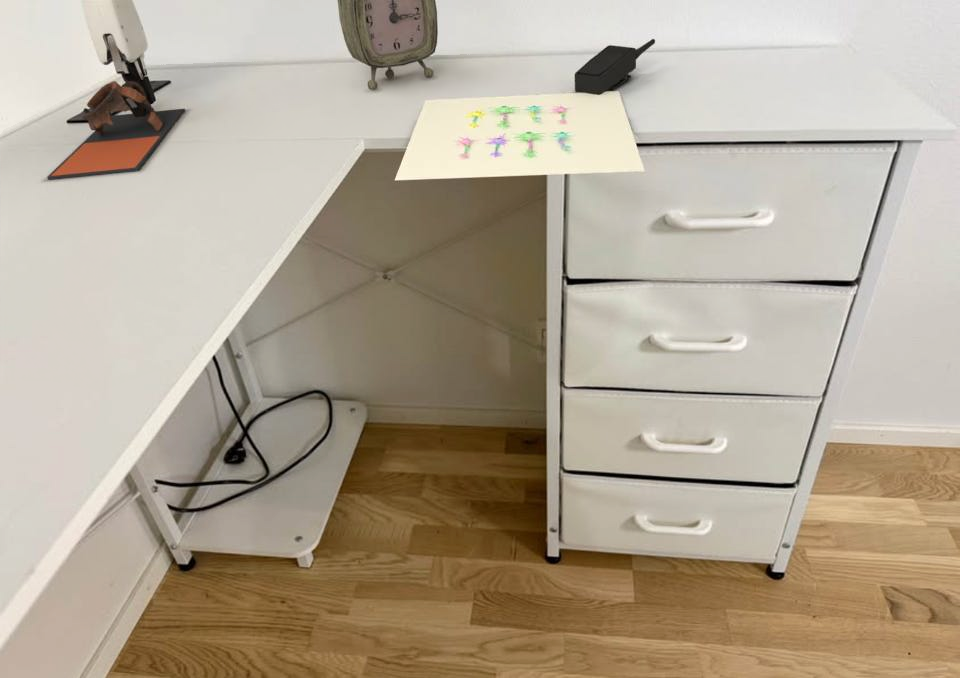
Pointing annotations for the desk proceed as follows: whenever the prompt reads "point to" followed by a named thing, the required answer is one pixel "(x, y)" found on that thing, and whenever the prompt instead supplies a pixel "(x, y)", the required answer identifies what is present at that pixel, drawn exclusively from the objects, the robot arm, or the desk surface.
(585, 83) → the walkie-talkie
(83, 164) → the desk mat
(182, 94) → the desk surface
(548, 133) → the printed paper
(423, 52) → the tabletop clock
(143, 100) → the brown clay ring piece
